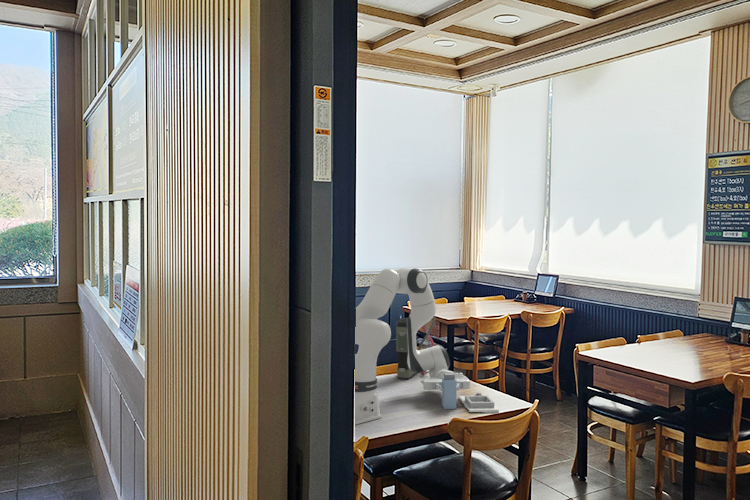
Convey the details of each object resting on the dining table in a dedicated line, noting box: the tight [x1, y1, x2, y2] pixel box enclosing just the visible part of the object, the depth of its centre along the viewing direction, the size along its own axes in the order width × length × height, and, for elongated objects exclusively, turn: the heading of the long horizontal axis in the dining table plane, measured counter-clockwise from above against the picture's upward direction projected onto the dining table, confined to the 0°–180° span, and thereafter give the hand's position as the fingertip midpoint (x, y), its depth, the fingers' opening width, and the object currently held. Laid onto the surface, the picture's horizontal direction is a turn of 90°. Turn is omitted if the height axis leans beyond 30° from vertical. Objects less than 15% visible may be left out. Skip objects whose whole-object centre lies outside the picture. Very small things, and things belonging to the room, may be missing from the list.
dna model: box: [417, 315, 436, 376], centre depth 296 cm, size 9×9×30 cm
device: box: [395, 317, 418, 381], centre depth 289 cm, size 14×8×30 cm, turn 156°
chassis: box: [458, 392, 500, 414], centre depth 242 cm, size 20×12×3 cm, turn 4°
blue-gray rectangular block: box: [441, 373, 457, 410], centre depth 240 cm, size 5×5×14 cm
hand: (449, 388), depth 239 cm, fingers closed on blue-gray rectangular block, 5 cm apart
